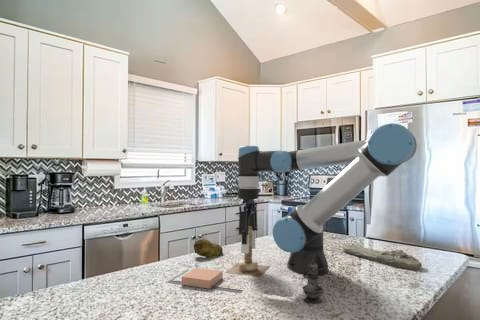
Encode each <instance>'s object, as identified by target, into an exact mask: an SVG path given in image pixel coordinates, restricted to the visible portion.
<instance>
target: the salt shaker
mask: <svg viewBox="0 0 480 320" xmlns="http://www.w3.org/2000/svg"><path fill="white" fill-rule="evenodd" d="M306 277H307V281H306V282H307V283H306V284H305V285H303V286H302V290H303V293H304V295H305V297H304V298H303V302H304V303H306V304H309V305H319V304H322V302H323V299H321V298H320V297H321V296H322V295H323V291H324V288H323V287H322V286H320V285H319V277H320V276H319V275H318V265H317V264H316V263H314V260H313V259H312V262H311V263H309V264H308V274H307V276H306Z"/></svg>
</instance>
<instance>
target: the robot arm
mask: <svg viewBox="0 0 480 320" xmlns="http://www.w3.org/2000/svg"><path fill="white" fill-rule="evenodd" d="M416 151H417V140H416V138H415V136H414V134H413V133H412V131H410V130H409V128H406V127H405V125H402V124H398V123H387V124H383V125H380V126H378V127H377V128H375V130H373V131H372V133H371V134H370V136H368V138H367V139H363V140H356V141H348V142H343V143H337V144H330V145H324V146H317V147H311V148H305V149H300V150H299V149H298V150H289V151H287V150H264V151H262V150H260V149H259V146H257V145H241V146H240V147H239V148H238V154H237V155H238V158H237V159H238V160H237V161H238V178H237V179H236V180H237V182H238V187H239V188H238V190H237V191H238V192H237V193H238V194H237V196H238V199H240V200H242V203H241V205H239V206H238V209H239V216H238V217H239V218H238V219H239V220H238V235H239V236H240V237H241V240H240V243H241V244H240V245H241V246H240V247H241V248H240V253H242V254H244V253H249V235H248V229H249V226H250V227H252V250H254V249H256V232H257V231H258V230H259V228H258V213H257V212H258V209H257V208H258V202H257V201H256V202H255V200H257V199H259V194H260V193H259V188H258V187H260V183H259V182H260V173H277V174H279V173H289V172H294V171H301V170H309V169H310V170H311V169H317V168H326V167H333V166H343V165H347V166H346V167H345V168H344V169H342V170H341V171H340V172H339V173H338V174H337V175H336V176H335V177H334V178H333V179H332V180H331V181H329V182H328V183H327V184H326V185H325V186H324V187H323V188H322V189H321V190H320V191H318V192H317V194H315V195H314V196H313V197H312V198H311V199H309V201H308V202H306V203H305V204H304V205H303V204H298V205H296V207H294V208H292V209H291V211H289V213H288V214H287V215H286V216H283V217H281V218H279V219H278V220H277V221H276V222H275V223H274V224H273V228H272V237H273V240H274V242H275V244H276V246H277V247H278V248H279V249H280V250H282V251H283V252H286V253H289V257H288V259H287V263H286V268H287V269H288V270H289V271H291V272H294V273H296V274H297V273H299V274H303V275H302V276H303V277H308V276H307V274H308V264H309V263H311V262H312V259H313V260H314V263H316V264H317V265H318V275H319V277H321V276H325V275H327V274H328V273H329V264H328V261H327V257H326V254H325V251H324V225H325V224H326V223H327V222H328V221H329V220H331V219H332V218H333V217H334V216H335V215H336V214H337V213H338V212H340V210H342V209H344V207H345V206H346V205H348V204H349V203H350V202H351V201H352V200H354V199H355V198H356V197H357V196H358V195H359V194H360V193H362V191H364V190H365V189H366V188H368V186H370V185H371V184H372V183H373V182H374V181H375V180H377V179H378V178H380V177H388V176H389V175H390V174H391V173H393V172H394V171H395V170H396V169H398V168H399V167H400V166H401V165H402V164H404V163H406V162H408V161H410V160H411V159H412V158H413V157H414V155H415V153H416Z"/></svg>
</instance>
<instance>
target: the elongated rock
mask: <svg viewBox="0 0 480 320" xmlns="http://www.w3.org/2000/svg"><path fill="white" fill-rule="evenodd" d="M342 248H343V249H342V251H343V253H346V254H350V255H353V256H355V257H358V258H362V259H365V260H367V261H368V260H369V261H372V262H378V263H381V264H384V265H387V266H392V267H395V268H399V269H401V268H403V269H410V270H419V269H421V268H422V266H423V264H422V263H421V262H420V261H419V259H417V258H415V257H414V256H413V255H410V254H407V253H406V252H404V250H402V249H399V250H398V249H396V250H394V249H392V250H382V251H381V250H377V249H373V248H368V247H364V246H358V245H356V244H355V245H354V244H347V245H344V246H343V247H342Z"/></svg>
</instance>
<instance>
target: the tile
mask: <svg viewBox="0 0 480 320" xmlns="http://www.w3.org/2000/svg"><path fill="white" fill-rule="evenodd" d="M222 279H223V270H219V269H218V270H217V269H208V268H203V267H196V268H193V269H192V270H191V271H189V272H186V274H185V273H184V274H183V275H181V282H182V284H183V285H182V286H188V287H195V288H202V289H208V290H211V289H210V288H211V287H212V286H215V285H216V284H217V283H219V282H220V281H221V280H222Z"/></svg>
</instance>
